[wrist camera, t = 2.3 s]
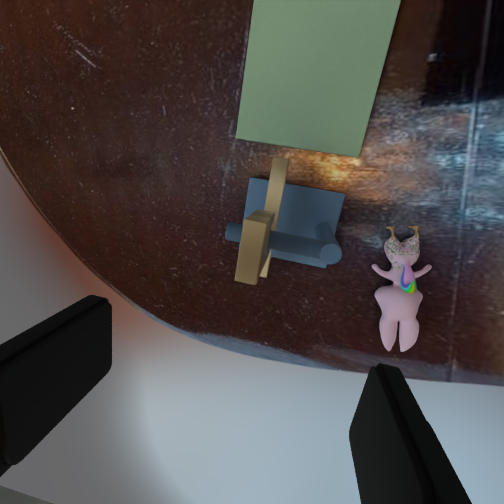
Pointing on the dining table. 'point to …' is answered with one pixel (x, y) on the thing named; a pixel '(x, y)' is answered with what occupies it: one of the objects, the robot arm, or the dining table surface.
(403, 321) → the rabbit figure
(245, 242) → the hanger
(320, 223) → the rail stand
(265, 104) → the mat
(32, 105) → the dining table surface
